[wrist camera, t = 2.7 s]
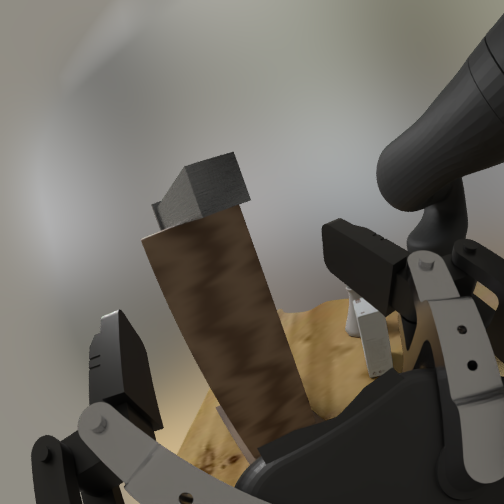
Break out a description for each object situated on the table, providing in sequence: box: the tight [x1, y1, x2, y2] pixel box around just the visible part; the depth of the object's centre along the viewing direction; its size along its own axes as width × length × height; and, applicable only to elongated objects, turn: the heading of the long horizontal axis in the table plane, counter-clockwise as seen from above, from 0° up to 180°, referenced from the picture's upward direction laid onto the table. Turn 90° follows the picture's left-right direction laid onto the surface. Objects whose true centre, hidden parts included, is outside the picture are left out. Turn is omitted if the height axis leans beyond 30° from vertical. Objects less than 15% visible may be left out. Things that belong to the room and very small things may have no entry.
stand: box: [141, 205, 325, 465], centre depth 35 cm, size 12×16×32 cm
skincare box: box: [353, 298, 393, 378], centre depth 40 cm, size 6×4×12 cm
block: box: [152, 152, 251, 231], centre depth 27 cm, size 4×25×4 cm, turn 24°
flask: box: [345, 286, 362, 337], centre depth 52 cm, size 7×7×10 cm
